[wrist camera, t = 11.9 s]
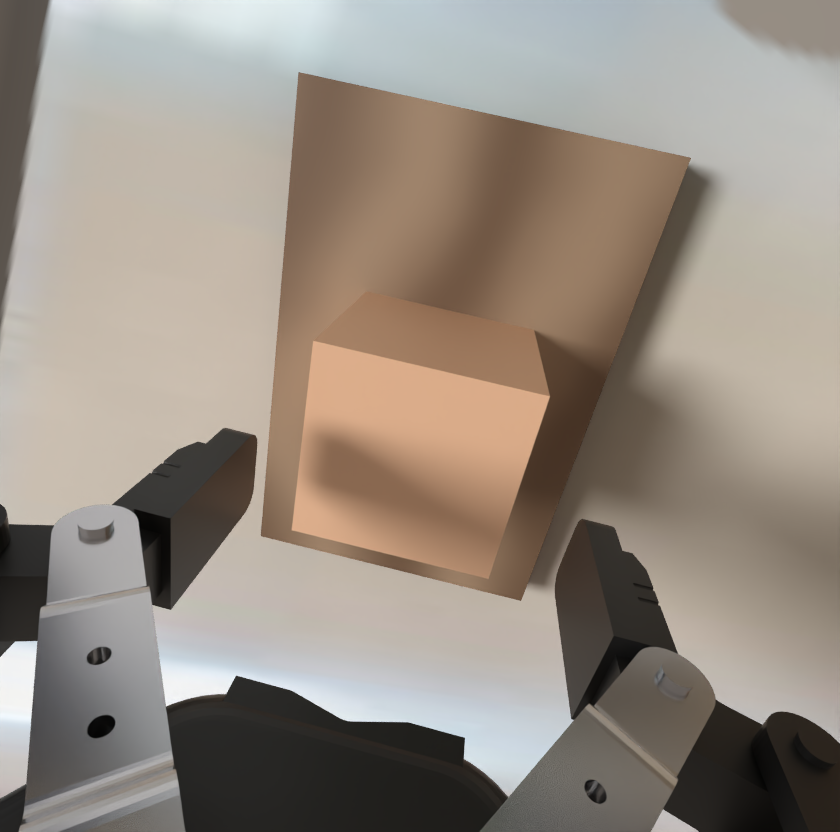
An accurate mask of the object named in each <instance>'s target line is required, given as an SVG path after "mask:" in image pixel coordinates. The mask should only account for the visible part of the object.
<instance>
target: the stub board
mask: <svg viewBox="0 0 840 832" xmlns="http://www.w3.org/2000/svg"><path fill="white" fill-rule="evenodd" d="M690 159H691V158H689V157H684V156H680V155H675V154H670V153H666V152H661V151H657V150H652V149H647V148H643V147H638V146H634V145H629V144H625V143H620V142H615V141H611V140H606V139H602V138H597V137H593V136H588V135H583V134H579V133H574V132H570V131H565V130H561V129H556V128H551V127H547V126H542V125H538V124H533V123H528V122H524V121H519V120H515V119H510V118H506V117H501V116H496V115H492V114H487V113H483V112H478V111H474V110H469V109H464V108H460V107H455V106H451V105H446V104H441V103H437V102H432V101H428V100H423V99H419V98H414V97H409V96H405V95H400V94H396V93H391V92H387V91H382V90H377V89H373V88H368V87H364V86H359V85H355V84H350V83H345V82H341V81H336V80H332V79H327V78H322V77H318V76H313V75H309V74H304V73H300V72H299V74H298V87H297V99H296V111H295V124H294V136H293V148H292V160H291V173H290V185H289V197H288V210H287V222H286V234H285V246H284V259H283V271H282V283H281V295H280V308H279V320H278V332H277V345H276V357H275V369H274V381H273V394H272V406H271V418H270V431H269V443H268V455H267V467H266V480H265V492H264V504H263V517H262V529H261V536H263V537H267V538H271V539H275V540H279V541H283V542H287V543H291V544H295V545H299V546H303V547H307V548H311V549H315V550H319V551H323V552H327V553H331V554H335V555H339V556H343V557H347V558H351V559H355V560H359V561H363V562H367V563H372V564H376V565H380V566H384V567H388V568H392V569H396V570H400V571H404V572H408V573H412V574H416V575H420V576H424V577H428V578H432V579H436V580H440V581H444V582H448V583H452V584H456V585H460V586H464V587H468V588H472V589H476V590H480V591H484V592H488V593H492V594H496V595H500V596H504V597H508V598H512V599H516V600H520V601H521V599H522V597H523V594H524V592H525V589H526V586H527V584H528V581H529V579H530V576H531V573H532V571H533V568H534V566H535V563H536V560H537V558H538V555H539V553H540V550H541V547H542V545H543V542H544V539H545V537H546V534H547V532H548V529H549V526H550V524H551V521H552V519H553V516H554V513H555V511H556V508H557V506H558V503H559V500H560V498H561V495H562V493H563V490H564V487H565V485H566V482H567V480H568V477H569V474H570V472H571V469H572V467H573V464H574V461H575V459H576V456H577V454H578V451H579V448H580V446H581V443H582V440H583V438H584V435H585V433H586V430H587V427H588V425H589V422H590V420H591V417H592V414H593V412H594V409H595V407H596V404H597V401H598V399H599V396H600V394H601V391H602V388H603V386H604V383H605V381H606V378H607V375H608V373H609V370H610V368H611V365H612V362H613V360H614V357H615V355H616V352H617V349H618V347H619V344H620V341H621V339H622V336H623V334H624V331H625V328H626V326H627V323H628V321H629V318H630V315H631V313H632V310H633V308H634V305H635V302H636V300H637V297H638V295H639V292H640V289H641V287H642V284H643V282H644V279H645V276H646V274H647V271H648V269H649V266H650V263H651V261H652V258H653V256H654V253H655V250H656V248H657V245H658V242H659V240H660V237H661V235H662V232H663V229H664V227H665V224H666V222H667V219H668V216H669V214H670V211H671V209H672V206H673V203H674V201H675V198H676V196H677V193H678V190H679V188H680V185H681V183H682V180H683V177H684V175H685V172H686V170H687V167H688V164H689V162H690ZM366 291H367V292H372V293H376V294H380V295H385V296H389V297H393V298H398V299H402V300H406V301H411V302H415V303H419V304H424V305H428V306H432V307H437V308H441V309H445V310H450V311H454V312H458V313H462V314H467V315H471V316H475V317H480V318H484V319H488V320H493V321H497V322H501V323H506V324H510V325H514V326H519V327H523V328H527V329H532V330H534V332H535V336H536V340H537V344H538V348H539V353H540V357H541V361H542V365H543V369H544V373H545V378H546V382H547V386H548V390H549V394H550V398H549V401H548V404H547V407H546V410H545V413H544V416H543V419H542V422H541V425H540V428H539V431H538V434H537V437H536V439H535V442H534V445H533V448H532V451H531V454H530V457H529V460H528V463H527V466H526V469H525V472H524V475H523V478H522V481H521V484H520V487H519V490H518V493H517V496H516V499H515V502H514V505H513V508H512V510H511V513H510V516H509V519H508V522H507V525H506V528H505V531H504V534H503V537H502V540H501V543H500V546H499V549H498V552H497V555H496V558H495V561H494V564H493V567H492V570H491V573H490V576H489V579H486V578H482V577H478V576H474V575H470V574H466V573H462V572H458V571H454V570H450V569H446V568H442V567H438V566H434V565H430V564H426V563H422V562H418V561H414V560H410V559H406V558H402V557H398V556H394V555H390V554H386V553H382V552H377V551H373V550H369V549H365V548H361V547H357V546H353V545H349V544H345V543H341V542H337V541H333V540H329V539H325V538H321V537H317V536H313V535H309V534H305V533H301V532H297V531H293V530H292V523H293V514H294V505H295V497H296V488H297V479H298V470H299V461H300V452H301V444H302V435H303V426H304V417H305V408H306V399H307V391H308V382H309V373H310V364H311V355H312V346H313V340H314V339H316V338H317V337H318V336H319V335H320V334H321V333H322V332H323V331H324V330H325V329H326V328H327V327H329V326H330V325H331V324H332V323H333V322H334V321H335V320H336V319H337V318H338V317H339V316H340V315H342V314H343V313H344V312H345V311H346V310H347V309H348V308H349V307H350V306H351V305H352V304H353V303H354V302H356V301H357V300H358V299H359V298H360V297H361V296H362V295H363V294H364V293H365V292H366Z"/></svg>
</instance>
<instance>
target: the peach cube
mask: <svg viewBox="0 0 840 832" xmlns="http://www.w3.org/2000/svg"><path fill="white" fill-rule="evenodd" d="M549 398H550V394H549V390H548V386H547V382H546V378H545V373H544V369H543V365H542V361H541V357H540V353H539V348H538V344H537V340H536V336H535V332H534V330H532V329H527V328H523V327H519V326H514V325H510V324H506V323H501V322H497V321H493V320H488V319H484V318H480V317H475V316H471V315H467V314H462V313H458V312H454V311H450V310H445V309H441V308H437V307H432V306H428V305H424V304H419V303H415V302H411V301H406V300H402V299H398V298H393V297H389V296H385V295H380V294H376V293H372V292H367V291H366V292H365V293H364V294H363V295H362V296H361V297H360V298H359V299H358V300H357V301H356V302H354V303H353V304H352V305H351V306H350V307H349V308H348V309H347V310H346V311H345V312H344V313H343V314H342V315H340V316H339V317H338V318H337V319H336V320H335V321H334V322H333V323H332V324H331V325H330V326H329V327H327V328H326V329H325V330H324V331H323V332H322V333H321V334H320V335H319V336H318V337H317V338H316V339H314V340H313V346H312V355H311V364H310V373H309V382H308V391H307V399H306V408H305V417H304V426H303V435H302V444H301V452H300V461H299V470H298V479H297V488H296V497H295V505H294V514H293V523H292V530H293V531H297V532H301V533H305V534H309V535H313V536H317V537H321V538H325V539H329V540H333V541H337V542H341V543H345V544H349V545H353V546H357V547H361V548H365V549H369V550H373V551H377V552H382V553H386V554H390V555H394V556H398V557H402V558H406V559H410V560H414V561H418V562H422V563H426V564H430V565H434V566H438V567H442V568H446V569H450V570H454V571H458V572H462V573H466V574H470V575H474V576H478V577H482V578H486V579H489V576H490V573H491V570H492V567H493V564H494V561H495V558H496V555H497V552H498V549H499V546H500V543H501V540H502V537H503V534H504V531H505V528H506V525H507V522H508V519H509V516H510V513H511V510H512V508H513V505H514V502H515V499H516V496H517V493H518V490H519V487H520V484H521V481H522V478H523V475H524V472H525V469H526V466H527V463H528V460H529V457H530V454H531V451H532V448H533V445H534V442H535V439H536V437H537V434H538V431H539V428H540V425H541V422H542V419H543V416H544V413H545V410H546V407H547V404H548V401H549Z"/></svg>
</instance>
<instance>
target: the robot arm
mask: <svg viewBox="0 0 840 832" xmlns="http://www.w3.org/2000/svg"><path fill="white" fill-rule="evenodd" d="M256 453H257V438H256V436H255V435H252V434H248V433H244V432H240V431H236V430H232V429H228V428H224V429H222V430H221V431H220V432H219V433H217V434H216V435H215V436H214V437H213V438H212V439H211V440H210V441H209V442H207V443H206V444H205V443H201V442H196V443H193V444H191V445H188V446H186V447H183V448H181V449H178V450H177V451H176V452H174V453H173V454H172V455H171V456H170V457H168V458H167V459H166V460H165V461H164V463H163V464H160V465H159V466H158V467H156V468H155V469H154V470H153V472H152V474H151V473H149V474H148V475H147V476H146V477H145V478H143V479H142V480H141V481H140V482H139V483H137V484H136V485H135V486H134V487H133V488H131V489H130V490H129V491H128V492H127V493H126V494H124V495H123V496H122V497H121V498H120V499H118V500H117V501H116V502H115V503H114V504H112V505H94V506H88V507H84V508H80V509H78V510H75V511H73V512H71V513H68V514H67V515H65V516H64V517H62V518H61V519H60V520H59V521H58V522H57V523H56V524H55V525H14V524H8V518H7V512H6V509H5V508H4V507H3V506H2V505H1V504H0V657H1V655H2V654H3V653H4V652H5V651H6V650H7V649H8V648H9V647H10V646H11V645H12V644H13V643H14V642H15V641H38V642H37V654H36V667H35V680H34V693H33V705H32V718H31V731H30V743H29V756H28V769H27V782H26V784H25V785H24V786H22V787H20V788H18V789H17V790H15V791H13V792H11V793H9V794H8V795H6V796H4V797H2V798H1V799H0V832H651V830H652V828H653V827H654V825H655V823H656V821H657V819H658V817H659V815H660V814H661V812H662V810H663V809H664V810H665V811H667V812H669V813H670V814H672V815H673V816H675V817H677V818H678V819H680V820H682V821H683V822H685V823H687V824H688V825H690V826H692V827H693V828H695V829H696V830H698V831H699V832H840V743H839V742H837V741H836V740H835V739H834V738H833V737H832V736H831V735H830V734H829V733H827V732H826V731H825V730H823V729H822V728H821V727H819V726H818V725H816V724H815V723H813V722H811V721H810V720H808V719H806V718H803V717H801V716H799V715H796V714H793V713H789V712H776V713H773V714H771V715H770V716H769V717H768V719H767V720H766V721H765V723H764V724H763V725H762V724H760V723H758V722H756V721H754V720H752V719H750V718H748V717H746V716H744V715H742V714H740V713H739V712H737V711H735V710H733V709H731V708H729V707H727V706H725V705H724V704H722V703H720V702H718V701H717V700H716V699H715V694H714V691H713V689H712V687H711V685H710V683H709V681H708V680H707V679H706V677H705V676H704V675H703V674H702V672H701V671H700V670H699V669H698V668H697V667H696V666H694V665H693V664H692V663H691V662H690V661H688V660H687V659H685V658H684V657H682V656H680V655H679V654H678V653H677V650H676V647H675V645H674V642H673V639H672V637H671V634H670V631H669V629H668V626H667V623H666V621H665V618H664V615H663V613H662V610H661V607H660V606H658V603H659V602H658V599H657V597H656V594H655V591H653V586H652V583H651V581H650V578H649V575H648V573H647V570H646V569H645V568H644V567H643V566H642V564H641V563H640V562H639V561H638V560H637V558H636V557H635V556H634V555H633V554H632V553H629V552H625V551H622V548H621V545H620V542H619V539H618V536H617V533H616V530H615V528H614V527H612V526H608V525H604V524H600V523H596V522H592V521H588V520H584V519H581V520H580V521H579V522H578V524H577V526H576V528H575V530H574V533H573V535H572V538H571V540H570V542H569V545H568V547H567V550H566V552H565V554H564V557H563V559H562V562H561V564H560V567H559V569H558V572H557V577H556V582H555V599H556V606H557V614H558V622H559V629H560V637H561V644H562V652H563V660H564V667H565V675H566V682H567V690H568V697H569V705H570V713H571V719H573V720H574V721H573V722H572V723H571V725H570V726H569V727H568V728H567V729H566V731H565V732H564V733H563V734H562V735H561V736H560V738H559V739H558V740H557V741H556V742H555V743H554V745H553V746H552V747H551V748H550V749H549V751H548V752H547V753H546V754H545V755H544V756H543V758H542V759H541V760H540V761H539V762H538V763H537V765H536V766H535V767H534V768H533V769H532V770H531V772H530V773H529V774H528V775H527V776H526V778H525V779H524V780H523V781H522V782H521V783H520V785H519V786H518V787H517V788H516V789H515V790H514V792H513V793H512V794H511V795H510V796H509V798H508V796H507V795H506V794H505V793H504V792H503V791H502V790H501V789H500V787H499V786H498V785H497V784H496V783H495V782H494V781H493V780H492V779H490V778H489V777H488V776H487V775H486V774H485V773H484V772H482V771H481V770H480V769H478V768H477V767H475V766H474V765H473V764H471V763H469V762H468V761H466V760H464V743H465V738H463V737H459V736H456V735H452V734H448V733H445V732H441V731H437V730H434V729H430V728H426V727H423V726H419V725H415V724H412V723H408V722H350V721H345V720H342V719H340V718H338V717H336V716H335V715H333V714H331V713H329V712H328V711H326V710H324V709H322V708H321V707H319V706H317V705H315V704H314V703H312V702H310V701H309V700H307V699H305V698H303V697H302V696H300V695H298V694H296V693H295V692H293V691H290V690H287V689H283V688H279V687H276V686H272V685H268V684H265V683H261V682H257V681H254V680H250V679H246V678H243V677H239V676H236V677H235V679H234V681H233V683H232V685H231V687H230V688H229V690H228V692H227V694H216V695H206V696H200V697H195V698H190V699H186V700H183V701H180V702H177V703H174V704H171V705H169V706H167V707H166V704H165V696H164V689H163V682H162V674H161V667H160V660H159V652H158V645H157V637H156V630H155V623H154V615H153V608H152V605H155V606H159V607H162V608H166V609H170V610H171V609H172V608H173V606H174V605H175V604H176V602H177V601H178V600H179V598H180V597H181V596H182V594H183V593H184V592H185V591H186V589H187V588H188V587H189V585H190V584H191V583H192V581H193V580H194V579H195V577H196V576H197V575H198V574H199V572H200V571H201V570H202V568H203V567H204V566H205V564H206V563H207V562H208V560H209V559H210V558H211V557H212V555H213V554H214V553H215V551H216V550H217V549H218V547H219V546H220V545H221V543H222V542H223V541H224V540H225V538H226V537H227V536H228V534H229V533H230V532H231V530H232V529H233V528H234V526H235V525H236V524H237V523H238V521H239V520H240V519H241V517H242V516H243V515H244V513H245V512H246V510H247V508H248V506H249V504H250V501H251V498H252V494H253V489H254V478H255V466H256Z"/></svg>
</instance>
